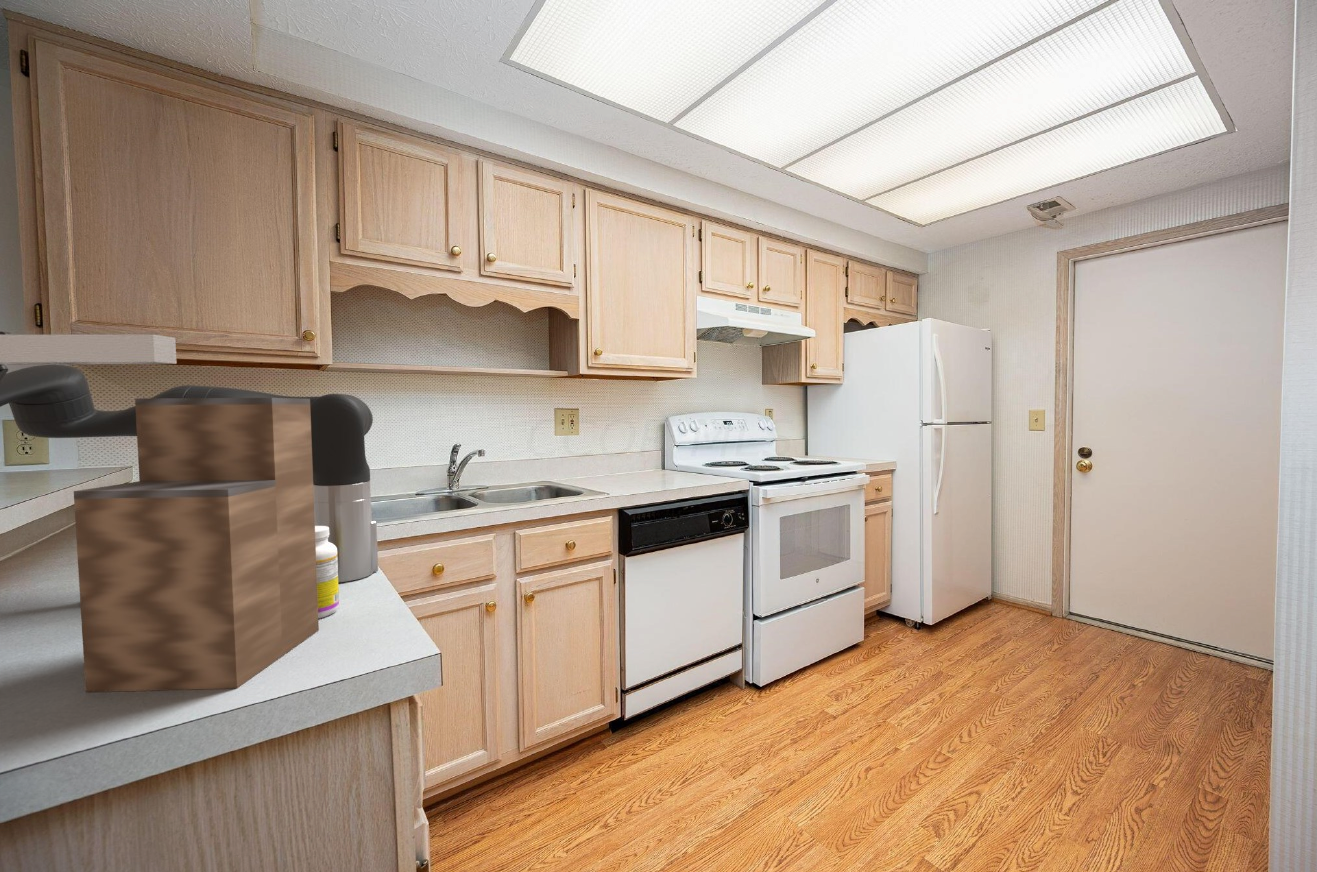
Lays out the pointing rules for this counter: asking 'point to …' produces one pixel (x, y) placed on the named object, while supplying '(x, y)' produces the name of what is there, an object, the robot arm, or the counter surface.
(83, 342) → the bar
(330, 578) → the supplement bottle
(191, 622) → the stand
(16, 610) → the counter surface
